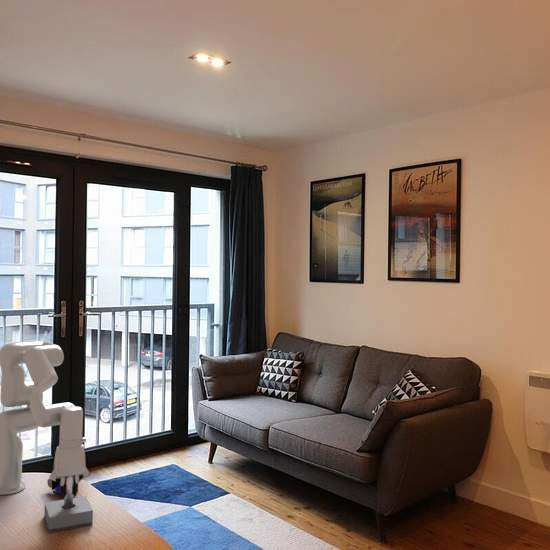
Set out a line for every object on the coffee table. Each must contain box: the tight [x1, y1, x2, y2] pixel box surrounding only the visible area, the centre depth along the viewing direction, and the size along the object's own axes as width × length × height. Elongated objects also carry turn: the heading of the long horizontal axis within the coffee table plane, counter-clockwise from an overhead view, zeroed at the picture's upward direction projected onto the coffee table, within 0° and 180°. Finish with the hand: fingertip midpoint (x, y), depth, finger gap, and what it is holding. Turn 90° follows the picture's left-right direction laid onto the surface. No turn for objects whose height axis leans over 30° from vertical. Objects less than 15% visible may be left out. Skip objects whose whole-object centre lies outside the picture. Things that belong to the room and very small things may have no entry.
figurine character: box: [46, 477, 79, 498], centre depth 216 cm, size 7×8×15 cm
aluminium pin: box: [63, 476, 74, 506], centre depth 192 cm, size 3×3×11 cm
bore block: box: [43, 495, 94, 533], centre depth 192 cm, size 14×14×5 cm
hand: (68, 494), depth 192 cm, fingers closed on aluminium pin, 3 cm apart
